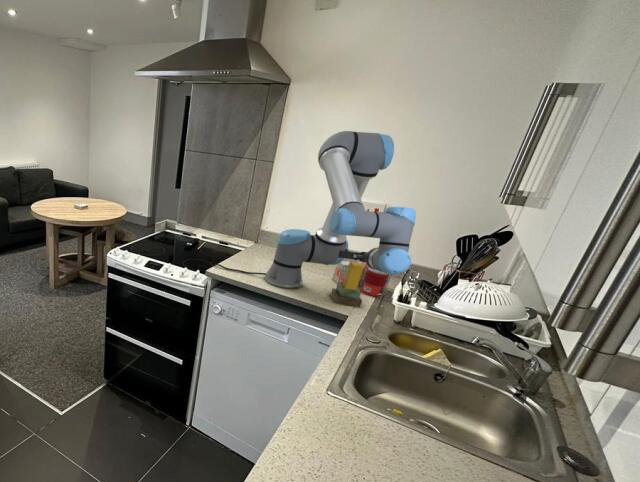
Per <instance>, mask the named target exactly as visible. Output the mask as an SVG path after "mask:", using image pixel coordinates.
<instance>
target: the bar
mask: <svg viewBox="0 0 640 482" xmlns="http://www.w3.org/2000/svg"><path fill="white" fill-rule="evenodd" d="M349 262H350V264H349V267H348V270H347V273H346V276H345V279H344V282H343V286H344V287H345V289H352V290H356V289H357V288H358V287H359V286H358V283H359V280H360V277H361V274H362V271H363V268H364V266H363V265H362V264H361V263H359V262H356V261H349ZM355 262H356V263H355Z"/></svg>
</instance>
